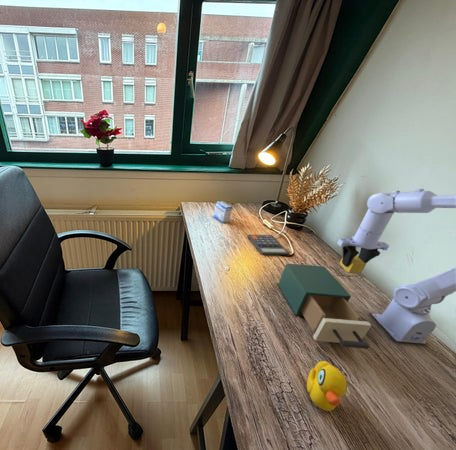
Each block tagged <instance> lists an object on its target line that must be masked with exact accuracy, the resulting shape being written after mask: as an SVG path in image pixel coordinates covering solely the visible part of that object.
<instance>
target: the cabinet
mask: <svg viewBox="0 0 456 450" xmlns="http://www.w3.org/2000/svg"><path fill="white" fill-rule="evenodd" d="M281 273H282V274H281V275H280V278H279V281H278V287H279V289H280V290H281V292H282V294H283V296H284V297H285V299H286V301H287V303H288V305H289V306H290V308H291V309H292V312H293V313H294V314H295V316H301V317H304V316H303V314H302V313H301V309H302V306H303V304H304V302H305V300H306V298H307V296H308V295H318V296H330V297H342V298H345V299H346V301H347V302H348V303H349V300H350V299H351V297H352V295H351V294H350V293H349V292H348V291H347V290H346V289H345V287H343V285H342V284H341V283H340V282H339V281H338V280H337V279H336V277H335V276H334V275H333V274H332V273H331V272H330V271H329V270H328V269H327V268H326V266H323V265H310V264H300V263H299V264H298V263H285V265H284V267H283V270H282V272H281Z"/></svg>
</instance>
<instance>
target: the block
mask: <svg viewBox="0 0 456 450" xmlns="http://www.w3.org/2000/svg"><path fill="white" fill-rule="evenodd" d="M342 260H343V256H342V258H341V259H340V261H339V265H340V266H341V267H342V269H344V270H345V271H346V272H347V273H348V274H356V275H361V274H362V272H363V271H364V269H365V267H366V265H367V263H364V262H363V261H362V260H361V259H360V258H358V255H356V256H355V257H354V258H353V260H352V261H351V263H350V264H349V266H348V267H346V266H344V265H343V264H342Z"/></svg>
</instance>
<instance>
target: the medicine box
mask: <svg viewBox="0 0 456 450" xmlns="http://www.w3.org/2000/svg"><path fill="white" fill-rule="evenodd" d="M232 211H233V206H232V205H230V204H228V203H227V202H225V201H223V200H221V201H216V203H215V207H214V213H213V218H215V219H216V220H217V221H219V222H221V223H223V224H224V223H225V224H226V223H230V220H231V216H232Z"/></svg>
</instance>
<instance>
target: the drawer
mask: <svg viewBox="0 0 456 450" xmlns="http://www.w3.org/2000/svg"><path fill="white" fill-rule="evenodd" d="M301 313H302V314H303V316H302V317H303V318H304V320H305V321H306V323H307V324H308V326H309V328H310V329H311V331H312V333H314V334H313V336H312V338H313V340H314V341H315V342H325V343H326V342H327V343H336V344H337V343H338V344H339V346H340V347H343V348H353V349H369V348H370V347H369V346H370V345H369V343H368V342H366V341H364V340H363V339H364V337H365V336H366V334H367V333H368V331H369V329H370V328H371V327H372V324H371V323H370V322H369V321H364V320H361V319H362V317H361V315H359V313H358V312H357V311H356V310H355V309H354V307H352V305H351V304H350V303H349V301H348V302H347V301H346V299H345V298H342V297H330V296H318V295H308V296H307V298H306V300H305V302H304V304H303V306H302V309H301Z"/></svg>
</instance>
